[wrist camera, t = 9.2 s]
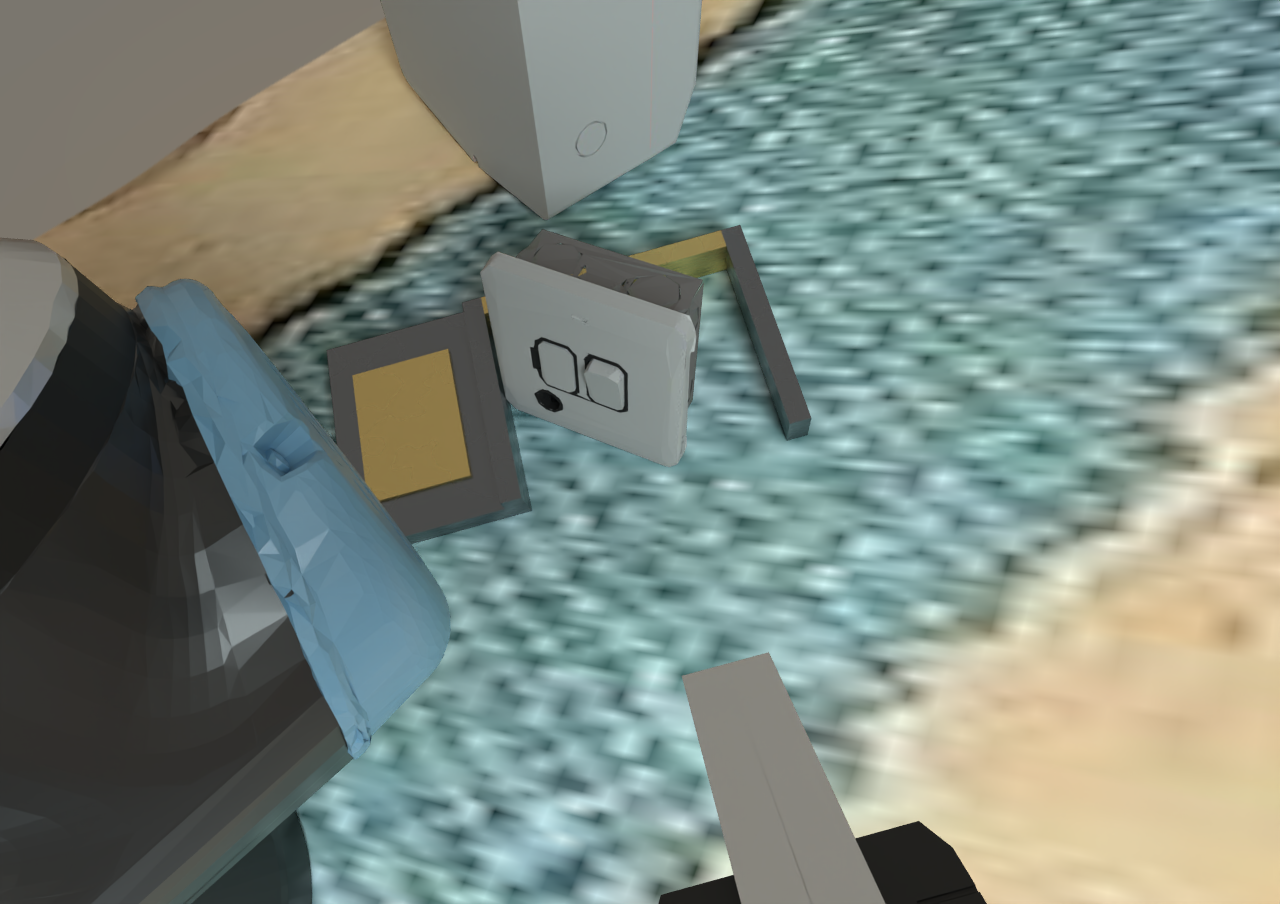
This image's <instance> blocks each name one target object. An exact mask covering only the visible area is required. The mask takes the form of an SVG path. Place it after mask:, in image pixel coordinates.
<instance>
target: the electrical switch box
mask: <svg viewBox="0 0 1280 904" xmlns="http://www.w3.org/2000/svg"><path fill="white" fill-rule="evenodd" d="M380 1H381V4H382V8H383V11H384V14H385V18H386V21H387V24H388V27H389V31H390V34H391V37H392V40H393V44H394V47H395V50H396V54H397V57H398V60H399V63H400V67H401V70H402V72H403V74H404V76H405V78H406V80H407V82H408V83H409V84H410V86H411V87H412V88H413V89H414V90H415V92H416V93H417V94H418V95H419V96H420V98H421V99H422V100H423V101H424V102H425V104H426V105H427V106H428V107H429V108H430V110H431V111H432V112H433V113H434V114H435V116H436V117H437V118H438V119H439V120H440V122H441V123H442V124H443V125H444V126H445V128H446V129H447V130H448V131H449V132H450V134H451V135H452V136H453V137H454V138H455V140H456V141H457V142H458V143H459V144H460V146H461V147H462V148H463V149H464V150H465V152H466V153H467V154H468V155H469V156H470V158H471V159H472V160H473V161H474V162H476V161H478V165H479V167H480V168H481V169H482V170H483V171H485V172H486V173H487V174H488V175H490V176H491V177H492V178H493V179H494V180H496V181H497V182H498V183H499V184H501V185H502V186H503V187H504V188H506V189H507V190H508V191H509V192H510V193H512V194H513V195H514V196H515V197H517V198H518V199H519V200H520V201H522V202H523V203H524V204H525V205H527V206H528V207H529V208H530V209H531V210H533V211H534V212H535V213H536V214H538V215H539V216H540V217H541V218H543V219H544V220H548V219H550V218H551V217H553V216H555V215H557V214H558V213H560V212H562V211H563V210H565V209H567V208H568V207H570V206H572V205H573V204H575V203H577V202H578V201H580V200H582V199H583V198H585V197H587V196H588V195H590V194H592V193H593V192H595V191H597V190H598V189H600V188H602V187H603V186H605V185H607V184H608V183H610V182H612V181H613V180H615V179H617V178H618V177H620V176H622V175H624V174H625V173H627V172H629V171H630V170H632V169H634V168H635V167H637V166H639V165H640V164H642V163H644V162H645V161H647V160H649V159H651V158H652V157H654V156H655V155H657V154H658V153H660V152H662V151H663V150H665V149H666V148H668V147H669V146H671V145H673V144H674V143H675V142H676V141H677V138H678V135H679V132H680V129H681V126H682V123H683V120H684V117H685V114H686V111H687V108H688V105H689V102H690V99H691V96H692V93H693V90H694V87H695V84H696V72H697V58H698V45H699V32H700V19H701V5H702V0H380Z"/></svg>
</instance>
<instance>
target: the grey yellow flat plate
mask: <svg viewBox="0 0 1280 904" xmlns="http://www.w3.org/2000/svg"><path fill="white" fill-rule="evenodd" d="M628 257H632V258H635V259H638V260H641V261H644V262H647V263H651V264H654V265H657V266H660V267H663V268H666V269H670V270H673V271H676V272H679V273H682V274H685V275H689V276H692V277H695V278H698V277H701V276H705V275H709V274H712V273H716V272H719V271H723V270H727V271H728V274H729V277H730V280H731V282H732V285H733V288H734V291H735V294H736V297H737V300H738V302H739V305H740V308H741V311H742V314H743V317H744V319H745V322H746V325H747V328H748V331H749V334H750V337H751V339H752V342H753V345H754V348H755V351H756V354H757V357H758V359H759V362H760V365H761V368H762V371H763V374H764V376H765V379H766V382H767V385H768V388H769V391H770V394H771V396H772V399H773V402H774V405H775V408H776V411H777V414H778V416H779V419H780V422H781V425H782V428H783V431H784V434H785V436H786V439H787V440H791V439H794V438H798V437H802V436H805V435H808V430H809V426H810V421H811V416H810V413H809V410H808V408H807V405H806V402H805V400H804V397H803V394H802V391H801V389H800V386H799V383H798V381H797V378H796V375H795V372H794V370H793V367H792V364H791V362H790V359H789V356H788V353H787V351H786V348H785V345H784V343H783V340H782V337H781V334H780V332H779V329H778V326H777V324H776V321H775V318H774V315H773V313H772V310H771V307H770V305H769V302H768V299H767V296H766V294H765V291H764V288H763V286H762V283H761V280H760V277H759V275H758V272H757V269H756V267H755V264H754V261H753V258H752V256H751V253H750V250H749V248H748V245H747V242H746V239H745V237H744V234H743V231H742V229H741V226H740V225H738V226H735V227H731V228H727V229H724V230H720V231H717V232H713V233H709V234H706V235H702V236H699V237H695V238H692V239H688V240H684V241H681V242H677V243H674V244H670V245H667V246H663V247H659V248H656V249H652V250H649V251H645V252H642V253H638V254H634V255H631V256H628ZM584 273H586V268H584V269H582V271H581V272H580V274H579V275H578V276H580V275H582V274H584ZM571 275H573V274H571ZM664 276H665V275H664ZM665 277H666V276H665ZM636 280H637V279H635V280H634V282H635V281H636ZM634 282H633V283H634ZM624 284H625V283H624ZM623 286H624V285H623ZM629 296H630V294H629ZM462 306H463V311H464V312H462V313H458V314H455V315H451V316H448V317H444V318H441V319H437V320H433V321H430V322H426V323H423V324H419V325H415V326H412V327H408V328H405V329H401V330H398V331H394V332H390V333H387V334H383V335H380V336H376V337H373V338H369V339H365V340H362V341H358V342H355V343H351V344H348V345H344V346H340V347H337V348H333V349H330V350H327V357H328V366H329V376H330V385H331V394H332V404H333V413H334V422H335V432H336V441H337V446H338V447H339V449H340V450H341V451H342V452H343V454H344V455H345V456H346V458H347V459H348V460H349V462H350V463H351V464H352V466H353V467H354V468H355V470H356V471H357V472H358V473H359V475H360V476H361V477H362V479H363V480H364V481H365V483H366V484H367V485H368V487H369V488H370V489H371V491H372V492H373V493H374V495H375V496H376V497H377V499H378V500H379V501H380V503H381V504H382V505H383V507H384V508H385V509H386V511H387V512H388V513H389V515H390V516H391V517H392V519H393V520H394V522H395V523H396V524H397V526H398V527H399V528H400V530H401V531H402V532H403V534H404V535H405V537H406V538H407V539H408V541H409V542H410V543H411V544H413V543H417V542H420V541H424V540H428V539H431V538H435V537H438V536H442V535H446V534H449V533H453V532H457V531H460V530H464V529H467V528H471V527H475V526H478V525H482V524H486V523H489V522H493V521H497V520H500V519H504V518H507V517H511V516H515V515H518V514H522V513H526V512H529V511H532V508H531V504H530V499H529V494H528V489H527V484H526V479H525V474H524V469H523V465H522V460H521V455H520V450H519V445H518V440H517V435H516V430H515V426H514V421H513V416H512V411H511V406H510V402H509V401H508V400H507V399H506V396H505V391H504V386H503V381H502V376H501V371H500V367H499V362H498V357H497V352H496V347H495V342H494V337H493V332H492V327H491V322H490V318H489V313H488V308H487V303H486V298H485V296H484V297H481V298H477V299H474V300H470V301H466V302H463V303H462Z"/></svg>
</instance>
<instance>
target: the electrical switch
mask: <svg viewBox="0 0 1280 904" xmlns="http://www.w3.org/2000/svg"><path fill="white" fill-rule="evenodd" d="M559 243H562V244H559ZM579 252H580V253H579ZM584 266H585V267H586V273H584V274H582V275H580V276H578V275H579V274H580V272H581V271H582V269H583V267H584ZM480 273H481V278H482V283H483V288H484V293H485V298H486V303H487V308H488V313H489V318H490V322H491V327H492V332H493V337H494V342H495V347H496V352H497V357H498V362H499V367H500V371H501V376H502V381H503V386H504V391H505V396H506V399H507V400H508V401H509V402H510V403H511V404H512V405H513V406H514V407H515V408H516V409H518V410H520V411H523V412H525V413H528V414H531V415H533V416H536V417H538V418H541V419H544V420H546V421H549V422H551V423H554V424H557V425H559V426H562V427H564V428H567V429H570V430H572V431H575V432H577V433H580V434H583V435H585V436H588V437H591V438H593V439H596V440H598V441H601V442H604V443H606V444H609V445H611V446H614V447H617V448H619V449H622V450H624V451H627V452H630V453H632V454H635V455H637V456H640V457H643V458H645V459H648V460H650V461H653V462H656V463H658V464H661V465H664V466H667V467H671V466H673V465H676V464H678V462H679V460H680V459H681V457H682V455H683V454H684V452H685V449H686V446H687V436H686V430H687V410H688V407H689V405H690V403H691V402H692V400H693V390H694V380H695V369H696V359H697V348H698V337H699V327H700V316H701V306H702V295H703V285H704V283H703V284H702V280H701V279H698V278H695V277H692V276H689V275H685V274H682V273H679V272H676V271H673V270H670V269H666V268H663V267H660V266H657V265H654V264H651V263H647V262H644V261H641V260H638V259H635V258H632V257H628V256H625V255H622V254H619V253H616V252H613V251H609V250H606V249H603V248H600V247H597V246H594V245H590V244H587V243H584V242H581V241H578V240H575V239H571V238H568V237H565V236H562V235H559V234H556V233H552V232H549V231H546V230H543V229H542V230H541V232H540V233H539V234H538V235H537V237H536V238H535V239H534V240H533V241H532V243H531V244H530V245H529V246H528V247H527V248H526V249H524V250H522V251H521V252H519V254H518V255H517V256H516V257H513V256H510V255H507V254H504V253H501V252H497V253H495V254H494V255H492V256H491V257H490V259H489V260H488V262H487V263H486V265H485V266H484V268H483V269H482V271H481V272H480ZM571 274H573V275H571ZM664 275H665V276H666V277H665V276H664ZM635 279H637V280H636V281H635V282H634V280H635ZM633 282H634V283H633ZM624 283H625V284H624ZM701 284H702V286H701V287H700V285H701ZM623 285H624V286H623ZM699 287H700V289H699ZM679 288H680V289H679ZM698 289H699V290H698ZM697 290H698V292H697ZM696 292H697V293H696ZM629 294H630V296H629ZM695 294H696V295H695ZM694 295H695V296H694Z"/></svg>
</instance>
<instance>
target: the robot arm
mask: <svg viewBox="0 0 1280 904" xmlns="http://www.w3.org/2000/svg"><path fill="white" fill-rule="evenodd" d="M135 299H136V302H137V303H138V304H137V306H136V308H134V309H133V310H131V309H129V308H127V307H125V306H123V305H121V304H119V303H116V302H115V301H114V300H113V299H111V298H110V297H109V296H108V295H107V294H105V293H104V292H103V291H102V290H101V289H99V288H98V287H97V286H96V285H95V284H93V283H92V282H91V281H90V280H89V279H87V278H86V277H85V276H84V275H83V274H82V273H80V272H79V271H78V270H77V269H76V268H74V267H73V266H72V265H71V264H70V263H69V262H68V261H67V260H66V259H64V258H63V257H61V256H60V255H58V254H57V253H56V252H54V251H53V250H51V249H49V248H48V247H46V246H45V245H43V244H42V243H39V242H37V241H34V240H23V239H8V238H0V904H312V886H311V872H310V863H309V857H308V852H307V847H306V843H305V839H304V835H303V832H302V829H301V826H300V823H299V821H298V818H297V816H296V813H295V810H296V809H297V808H299V807H300V806H301V805H302V804H303V803H304V802H305V801H306V800H307V799H309V798H310V797H311V796H312V795H313V794H314V793H315V792H316V791H318V790H319V789H320V788H321V787H322V786H323V785H324V784H325V783H326V782H328V781H329V780H330V779H331V778H332V777H333V776H334V775H335V774H337V773H338V772H339V771H340V770H341V769H342V768H343V767H344V766H345V765H347V764H348V763H349V762H350V761H351V760H352V759H357V758H358V757H360V756H361V755H362V754H363V753H364V752H365V751H366V749H367V748H368V747H369V745H370V741H371V736H372V735H373V734H374V733H375V732H376V731H377V730H378V729H379V728H380V727H381V726H382V725H383V724H384V722H385V721H386V720H387V719H388V718H389V717H390V716H391V715H392V714H393V713H394V712H395V711H396V710H397V709H398V708H399V707H400V706H401V705H402V704H403V703H404V702H405V701H406V700H407V699H408V698H409V696H410V695H411V694H412V693H413V692H414V691H415V690H416V689H417V688H418V687H419V686H420V685H421V684H422V683H423V682H424V681H425V680H426V679H427V678H428V677H429V676H430V675H431V674H432V672H433V671H434V670H435V669H436V668H437V666H438V665H439V663H440V661H441V659H442V658H443V656H444V652H445V650H446V647H447V644H448V641H449V637H450V631H451V629H450V617H451V616H450V612H449V607H448V604H447V601H446V597H445V595H444V593H443V591H442V589H441V588H440V586H439V585H438V583H437V581H436V580H435V578H434V577H433V575H432V574H431V572H430V571H429V569H428V568H427V566H426V565H425V563H424V562H423V560H422V559H421V558H420V556H419V555H418V553H417V552H416V550H415V549H414V548H413V546H412V545H411V543H410V542H409V541H408V539H407V538H406V537H405V535H404V534H403V532H402V531H401V530H400V528H399V527H398V526H397V524H396V523H395V522H394V520H393V519H392V517H391V516H390V515H389V513H388V512H387V511H386V509H385V508H384V507H383V505H382V504H381V503H380V501H379V500H378V499H377V497H376V496H375V495H374V493H373V492H372V491H371V489H370V488H369V487H368V485H367V484H366V483H365V481H364V480H363V479H362V477H361V476H360V475H359V473H358V472H357V471H356V470H355V468H354V467H353V466H352V464H351V463H350V462H349V460H348V459H347V458H346V456H345V455H344V454H343V452H342V451H341V450H340V449H339V447H338V446H337V445H336V443H335V442H334V441H333V440H332V438H331V437H330V436H329V435H328V433H327V432H326V431H325V429H324V428H323V427H322V426H321V424H320V423H319V422H318V420H317V419H316V418H315V417H314V415H313V414H312V413H311V411H310V410H309V409H308V407H307V406H306V405H305V404H304V402H303V401H302V400H301V398H300V397H299V396H298V395H297V393H296V392H295V391H294V389H293V388H292V387H291V386H290V384H289V383H288V382H287V381H286V379H285V378H284V377H283V376H282V374H281V373H280V372H279V371H278V369H277V368H276V367H275V366H274V364H273V363H272V362H271V361H270V359H269V358H268V357H267V356H266V354H265V353H264V352H263V351H262V350H261V348H260V347H259V346H258V345H257V343H256V342H255V341H254V340H253V338H252V337H251V336H250V335H249V334H248V332H247V331H246V330H245V329H244V328H243V327H242V326H241V324H240V323H239V322H238V321H237V320H236V319H235V318H234V316H233V315H232V314H230V313H229V312H228V311H227V310H226V309H225V308H224V307H223V305H222V304H221V303H220V302H219V300H218V299H217V298H216V297H215V295H214V293H213V292H212V291H211V290H210V289H209V288H208V287H206V286H205V285H204V284H202V283H200V282H198V281H195V280H191V279H179V280H176V281H173V282H171V283H169V284H168V285H166V286H165V287H161V288H160V287H155V286H147V287H146V288H145V289H144V290H143V291H142V292H141V293H140V294H139V295H137V296H136V298H135ZM682 678H683V682H684V686H685V690H686V694H687V697H688V701H689V705H690V709H691V713H692V717H693V720H694V724H695V728H696V732H697V736H698V740H699V743H700V747H701V751H702V755H703V759H704V763H705V766H706V770H707V774H708V778H709V782H710V786H711V789H712V793H713V797H714V801H715V805H716V809H717V812H718V816H719V820H720V824H721V828H722V832H723V835H724V839H725V843H726V847H727V851H728V855H729V858H730V862H731V866H732V870H733V874H734V875H731V876H728V877H724V878H721V879H717V880H713V881H710V882H706V883H703V884H699V885H695V886H692V887H688V888H685V889H681V890H677V891H674V892H670V893H667V894H663V895H661V897H660V900H659V904H987V903H986V902H985V900H984V898H983V897H982V895H981V893H980V892H978V891H977V889H976V886H975V884H974V882H973V880H972V879H971V877H970V875H969V874H968V872H967V870H966V869H965V867H964V865H963V864H962V862H961V861H960V859H959V857H958V856H957V854H956V852H955V851H954V849H953V848H952V847H951V846H950V845H949V844H947V843H946V842H945V841H943V840H942V839H941V838H940V837H938V836H937V835H936V834H935V833H933V832H932V831H931V830H930V829H928V828H927V827H926V826H925V825H923V824H922V823H921V822H919V821H917V822H913V823H910V824H906V825H903V826H899V827H895V828H892V829H888V830H885V831H881V832H877V833H874V834H870V835H867V836H863V837H859V838H856V839H855V837H854V835H853V833H852V831H851V828H850V826H849V824H848V822H847V820H846V818H845V816H844V813H843V811H842V809H841V807H840V805H839V803H838V800H837V798H836V796H835V794H834V792H833V790H832V788H831V785H830V783H829V781H828V779H827V777H826V775H825V772H824V770H823V768H822V766H821V764H820V762H819V760H818V757H817V755H816V753H815V751H814V749H813V747H812V744H811V742H810V740H809V738H808V736H807V734H806V731H805V729H804V727H803V725H802V723H801V721H800V719H799V716H798V714H797V712H796V710H795V708H794V706H793V703H792V701H791V699H790V697H789V695H788V693H787V691H786V688H785V686H784V684H783V682H782V680H781V678H780V675H779V673H778V671H777V669H776V667H775V665H774V663H773V660H772V658H771V656H770V654H769V652H768V653H765V654H761V655H757V656H754V657H750V658H746V659H743V660H739V661H735V662H732V663H728V664H724V665H721V666H717V667H713V668H710V669H706V670H702V671H699V672H695V673H691V674H688V675H684V676H682Z"/></svg>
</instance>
